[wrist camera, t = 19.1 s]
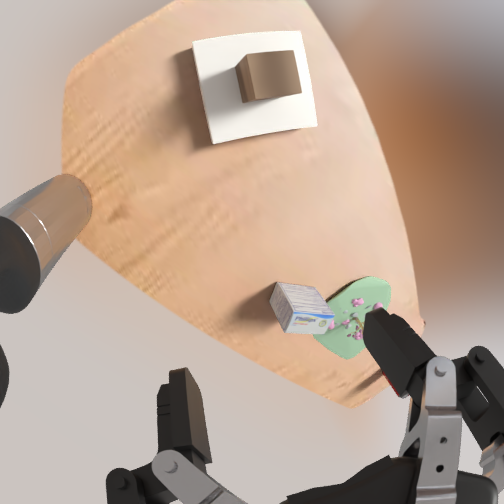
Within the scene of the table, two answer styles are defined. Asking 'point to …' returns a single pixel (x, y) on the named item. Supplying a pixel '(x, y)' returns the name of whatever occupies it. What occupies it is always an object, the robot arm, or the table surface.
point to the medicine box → (300, 309)
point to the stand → (228, 93)
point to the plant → (353, 315)
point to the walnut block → (268, 75)
